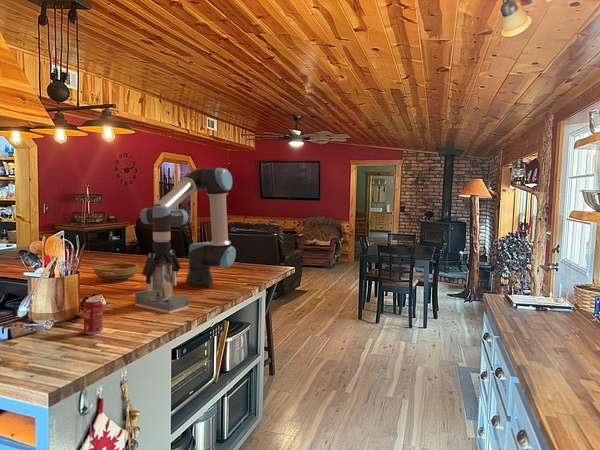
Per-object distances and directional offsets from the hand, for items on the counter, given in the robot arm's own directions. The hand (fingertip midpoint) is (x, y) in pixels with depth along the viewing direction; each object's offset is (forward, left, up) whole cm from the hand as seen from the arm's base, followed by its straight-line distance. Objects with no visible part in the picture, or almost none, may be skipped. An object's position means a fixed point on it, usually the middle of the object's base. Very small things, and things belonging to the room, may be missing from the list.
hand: (162, 287), depth 197 cm
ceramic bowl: (-25, -65, -9) cm, 70 cm away
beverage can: (+39, +7, -9) cm, 40 cm away
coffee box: (0, 0, -5) cm, 5 cm away
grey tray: (0, 0, -8) cm, 9 cm away
